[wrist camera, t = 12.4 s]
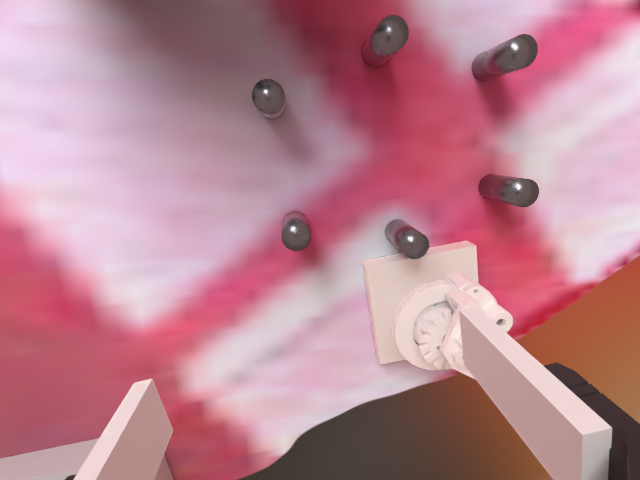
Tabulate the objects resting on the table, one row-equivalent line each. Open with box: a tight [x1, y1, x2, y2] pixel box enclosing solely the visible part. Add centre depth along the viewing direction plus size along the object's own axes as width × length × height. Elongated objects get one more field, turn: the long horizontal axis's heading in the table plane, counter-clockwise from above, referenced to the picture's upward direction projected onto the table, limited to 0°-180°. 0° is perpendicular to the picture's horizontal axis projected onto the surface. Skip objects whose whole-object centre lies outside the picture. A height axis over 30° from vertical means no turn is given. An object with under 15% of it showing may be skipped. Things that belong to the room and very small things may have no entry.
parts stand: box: [362, 240, 478, 365], centre depth 47 cm, size 14×14×2 cm
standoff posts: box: [252, 15, 539, 259], centre depth 39 cm, size 24×28×7 cm
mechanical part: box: [392, 272, 513, 380], centre depth 40 cm, size 11×12×12 cm
